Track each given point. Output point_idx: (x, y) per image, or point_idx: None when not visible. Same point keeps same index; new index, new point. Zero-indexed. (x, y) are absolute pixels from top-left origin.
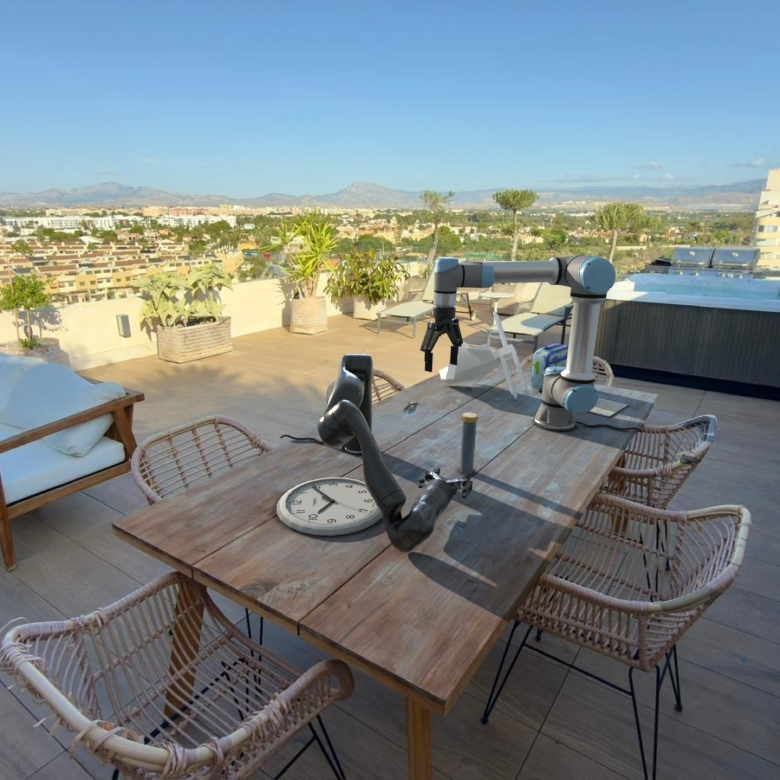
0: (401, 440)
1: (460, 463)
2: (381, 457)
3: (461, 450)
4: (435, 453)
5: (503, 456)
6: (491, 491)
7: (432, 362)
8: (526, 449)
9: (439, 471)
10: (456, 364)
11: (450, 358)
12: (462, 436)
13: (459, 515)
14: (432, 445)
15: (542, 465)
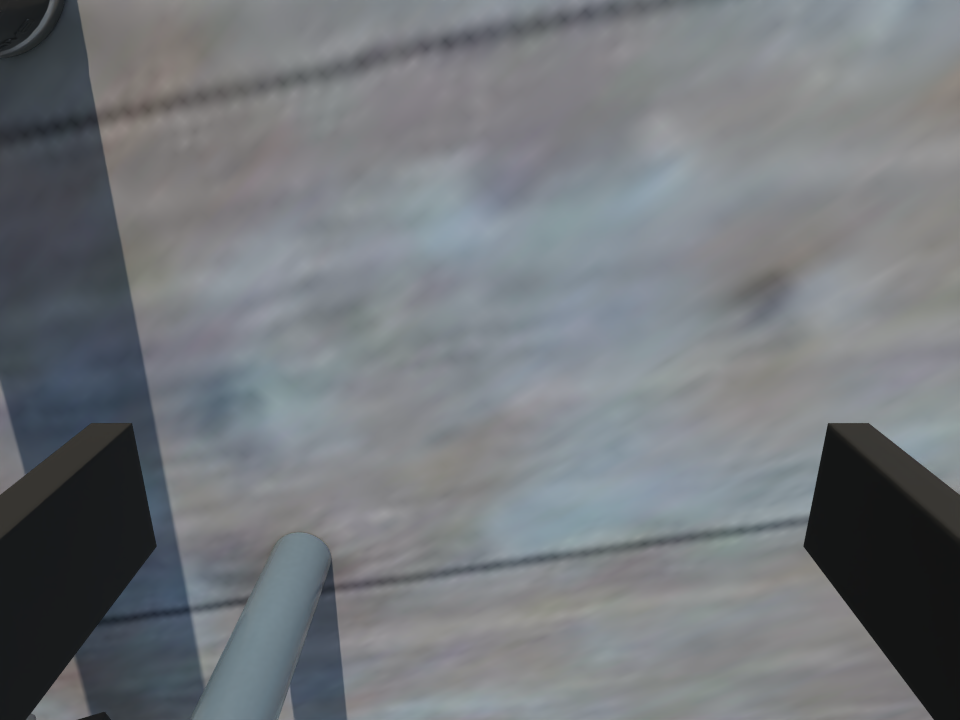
0: (310, 64)
1: (266, 564)
2: None
3: (240, 616)
4: (335, 344)
5: (565, 580)
6: None
7: (53, 675)
8: (716, 607)
9: None
10: (827, 555)
11: (889, 491)
12: (208, 682)
13: None
14: (406, 262)
15: (600, 717)
